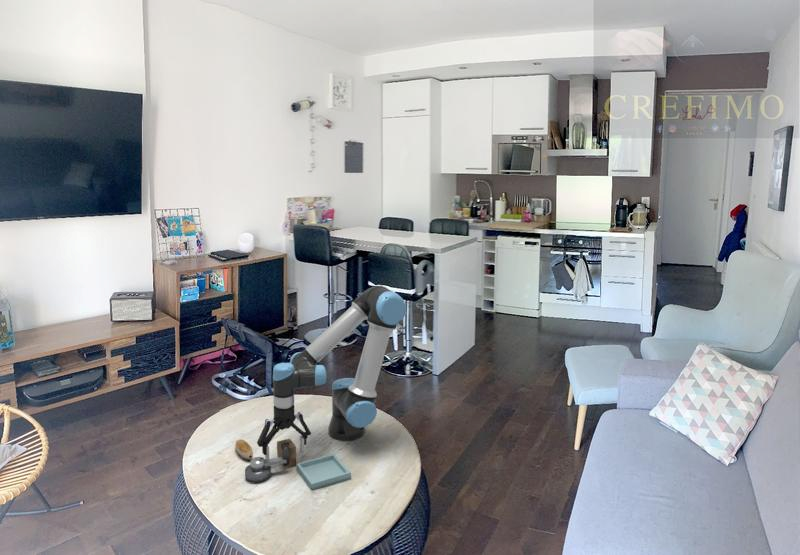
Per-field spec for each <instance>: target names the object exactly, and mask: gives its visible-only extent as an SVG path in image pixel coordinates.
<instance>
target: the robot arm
mask: <svg viewBox="0 0 800 555" xmlns="http://www.w3.org/2000/svg"><path fill="white" fill-rule="evenodd" d="M406 313H407V306H406V302H405V300H404V298H403V297H402V296H400V295H399V294H398V293H397V292H395V291H393V290H392V289H389V288H387V287H386V286H382V285H374V286H372V287H371V286H370V287H369V288H367V289H366V290H364V291H363V292H362V293H361V294H359V296H357V297H356V298H355V299H354V300H353V301H351V306H349V308H348V309H347V310H346V311H344V312H343V313H342V315H340V316H339V317H338V318H337V319H335V321H333V323H331V325H329V326H328V327H327V328H326V329H325V330H324V331H323V332H322V333H321V334H320V335H319V336H317V337H316V339H314V340H313V341H312V342H311V343H310V344H309V345H308V346H306V348H304V349H303V351H299V352H295V353H294V354H292V356H291V357H290V361H289V362H280V363H277V364H275V365H274V366H273V370H272V387H273V390H272V391H273V392H272V393H273V419H268V418H266V419H265V420H264V426H263V428H262V431H261V433H260V435H259V437H258V439H257V442H256V443H257V444H256V445H257V446H258V447H259V448H261V452H262V454H263V456H264V459H265V460H266V459H270V446H269V444H270V443H271V441H272V440H273V439H274V437H275V436H276V434H277V433H279V431H283V430H286V429H290V428H293V429H294V430H295V431H296V432H298V434H300V435H299V452H300V453H301V455H305V446H306V445H307V439H308V437H309V436H311V435H312V431H311V430H310V428H309V427H308V426H307V423H306V422H305V420H304V415H303V414H302V413H301V412H300V411H298V412H297V413H296V414H295V390H296V389H302V388H303V389H304V388H311V387H312V388H313V387H318V386H323V385H325V384H326V383H327V379H328V378H327V370H326V367H325V366H324V364H323V365H322V364H318V363H319V362H320V361H321V360H323V359H324V358H325V357H326V356H327V355H329V353H331V351H332V350H333V349H335V348H336V347H337V345H339V344H340V343H341V342H342V341H344V339H345V338H346V337H348V336H349V335H350V334H351V333H352V332H353V331H354V330H355V329H356V328H357V327H358V326H360V324H361V323H362V322H364V321H365V320H366V322H367V324H368V325H369V327H368V329H367V330H368V331H367V333H366V334H367V335H366V338H365V342H364V345H363V348H362V351H361V355H360V360H359V363H358V366H357V370H356V374H355V378H354V377H343V378H338V379H336V380H334V381H333V382H332V385H331V398H332V400H331V401H332V403H331V406H332V408H331V409H332V410H331V413H332V416H331V418H330V421H329V424H328V433H327V434H328V435H329V437H331V438H332V439H335V440H338V441H353V440H358V439H359V438H361V437H362V436H363V435H364V434H365V429H366V428H365V427H368V426H369V425H370V424H372V423H374V420H375V419H376V418H377V413H378V411H377V406H376V400H377V395H378V394H377V391H376V386H377V383H378V379H379V375H380V371H381V368H382V364H383V361H384V359H385V358H384V357H385V354H386V351H387V347H388V344H389V341H390V336H391V334H392V332H393V331H395V330H396V329H397V328H398V324H400V322H402V321H403V320H404V318H405V315H406ZM296 419H297V420H298V421H299V423H300V424H301V425H302V426H301V427H302V428H303V429H304V431H303V430H302V429H301V428H300V427H299V426H297V424H296V423H295V420H296ZM272 425H273V426H272ZM271 427H272V428H271Z"/></svg>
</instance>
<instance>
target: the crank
mask: <svg viewBox="0 0 800 555" xmlns="http://www.w3.org/2000/svg"><path fill="white" fill-rule="evenodd" d="M280 446H281V448H282V457H278V458H277V457H271V458H269V459H266V460H265V457H262V456H255V457H252V458H251V459H250V460H249V461H250V462H249V463H250V464H251V471H253V472H260V471H262V470H264V469H265V467H266V466H277V465H280V464H283V466H288V465H289V443H282V444H280ZM250 464H249V465H250Z"/></svg>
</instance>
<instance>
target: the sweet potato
mask: <svg viewBox="0 0 800 555" xmlns="http://www.w3.org/2000/svg"><path fill="white" fill-rule="evenodd" d="M235 450H236V452H237V454H238V455H239V456H240V457H241V458H242V459H245V460H249V461H251V459H253V456H254V452H253V449H252V447H251V445H250V444H249V443H248V442H247V441H246V440H244V439H237V440H236V441H235Z"/></svg>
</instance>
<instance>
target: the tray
mask: <svg viewBox="0 0 800 555" xmlns="http://www.w3.org/2000/svg"><path fill="white" fill-rule="evenodd" d="M295 467H296V468H295V470H296V471H297V474H299V476H300V477H301V478H302V480H303V481H304V483H305V484H306V485H307V486H308V488H309V489H310V490H311V491H315V490H318V489H321V488H325V487H328V486H331V485H332V486H333V485H335V484H338V483H342V482H344V481H349V480H352V472H351V471H350V470H349V469H348V467H347V466H346V465H345V464H344V463H343V461H341V460H340V459H339V457H338V456H336V454H335V453H331V454H328V455H327V454H326V455H324V456H319V457H316V458H312V459H308V460H305V461H301V462H298V463H297V464H296V466H295Z"/></svg>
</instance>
